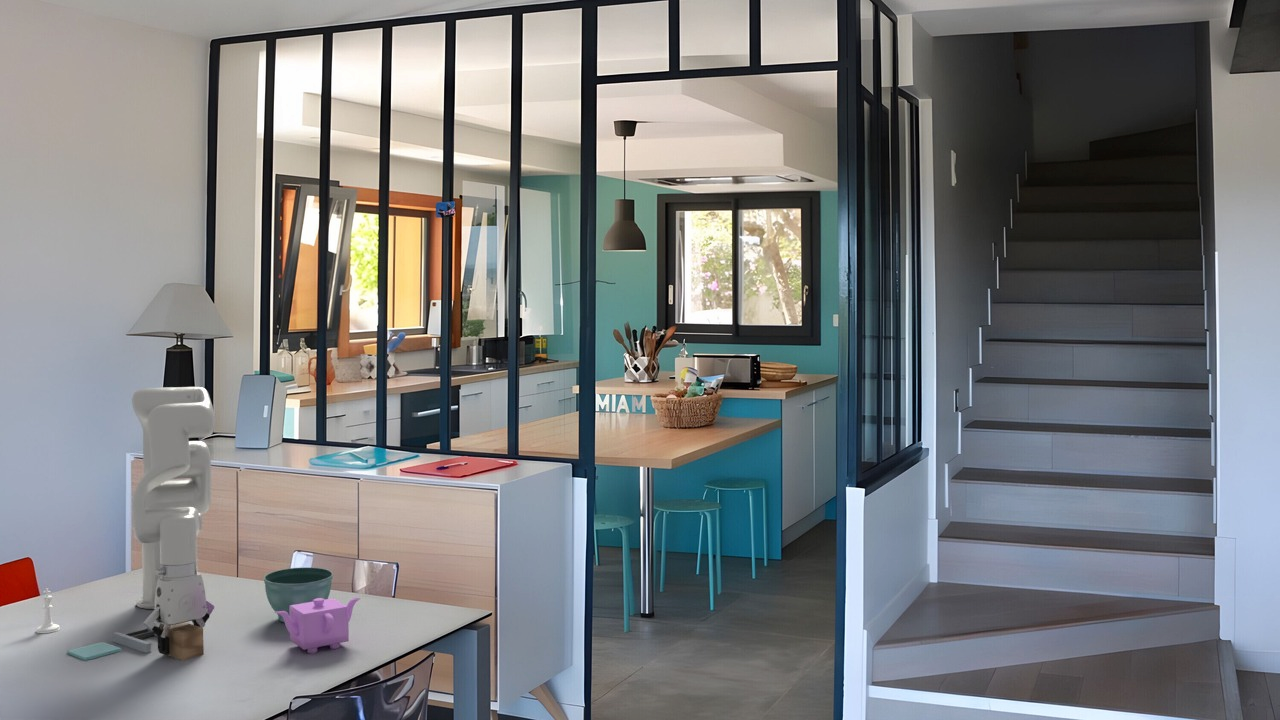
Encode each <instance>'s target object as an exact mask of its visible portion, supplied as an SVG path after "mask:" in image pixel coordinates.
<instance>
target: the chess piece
mask: <svg viewBox="0 0 1280 720" xmlns="http://www.w3.org/2000/svg"><path fill="white" fill-rule="evenodd" d="M51 593H52V591H50V590H49V588H45V590H43V594H45V595H44V596H42V600H43V603H44V605H43V606H42V607H41V608H42V609H43V610H44V609H45V610H44V621H43V623H42V624H41V625H39V626H38V627H37V628H36V633H37V634H50V633H55V632H58V631H59V630H60V629H61V627H60V625H59V624H58V623H57V624H56V623H54V621H52V619H53V618H52V614H51V608H53V605H52V604H51V602H52V598H53V596H52V595H50V594H51Z"/></svg>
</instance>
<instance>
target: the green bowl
mask: <svg viewBox="0 0 1280 720" xmlns="http://www.w3.org/2000/svg"><path fill="white" fill-rule="evenodd" d="M333 577H334V575H333V571H332V570H329V569H327V568H323V567H322V568H321V567H309V566H308V567H303V566H302V567H291V568H289V567H288V568H284V569H283V568H282V569H279V570H278V569H277V570H274V571H271V572H269V573H266V574H265V575H264V577H263V581H264V587H265V589H264V591H265V595H266V597H267V600H268V603H269V604H270V607H271V609H272V610H273V612H274V613H275V612H277V611H285V612H287V613H288V615H289V616H290V605H296V604H301V603H307V602H313V600H314V599H317V598H323V599H329V596H330V593H331V589H332V581H333ZM277 617H278V620H279V621H280V622H282V623H285V622H284V619H283V617H282V616H281V615H280V614H277Z"/></svg>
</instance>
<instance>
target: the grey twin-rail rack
mask: <svg viewBox="0 0 1280 720" xmlns="http://www.w3.org/2000/svg"><path fill="white" fill-rule="evenodd" d="M112 635H113V636H112V639H113V640H112V641H113V643H117V644H119V645H123V646H125V647H128V648H131V649H133V650H137V651H139V652H142V653H144V654H148V653H152V642H148V641H145V639H148V638H152V637H157V636H156V635H155V634H154V633H153V632H152V631H150V629H149V628H147V627H146V628H144V629H139V630H136V631H132V632H128V633H121V632H119V631H117V632H116V631H115V632H113V633H112ZM143 639H144V640H143Z"/></svg>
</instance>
